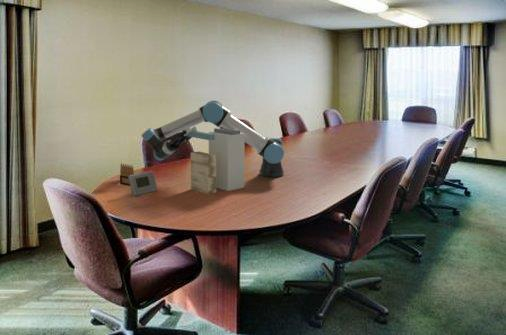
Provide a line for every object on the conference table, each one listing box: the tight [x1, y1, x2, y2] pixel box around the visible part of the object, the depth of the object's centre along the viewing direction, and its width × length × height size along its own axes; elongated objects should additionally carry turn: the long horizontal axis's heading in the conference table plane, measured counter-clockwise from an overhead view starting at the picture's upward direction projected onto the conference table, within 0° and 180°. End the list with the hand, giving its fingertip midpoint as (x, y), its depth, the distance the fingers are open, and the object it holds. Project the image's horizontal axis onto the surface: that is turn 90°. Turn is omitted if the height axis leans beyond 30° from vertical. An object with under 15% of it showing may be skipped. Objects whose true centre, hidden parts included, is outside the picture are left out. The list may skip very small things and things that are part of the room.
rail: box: [181, 130, 215, 141], centre depth 240 cm, size 3×24×3 cm, turn 44°
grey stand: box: [208, 127, 246, 192], centre depth 250 cm, size 12×16×32 cm
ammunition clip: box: [119, 162, 135, 187], centre depth 252 cm, size 11×2×12 cm, turn 56°
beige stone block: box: [190, 151, 217, 195], centre depth 242 cm, size 6×14×20 cm, turn 44°
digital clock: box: [128, 170, 158, 197], centre depth 236 cm, size 16×9×11 cm, turn 131°
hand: (192, 128), depth 243 cm, fingers closed on rail, 3 cm apart
